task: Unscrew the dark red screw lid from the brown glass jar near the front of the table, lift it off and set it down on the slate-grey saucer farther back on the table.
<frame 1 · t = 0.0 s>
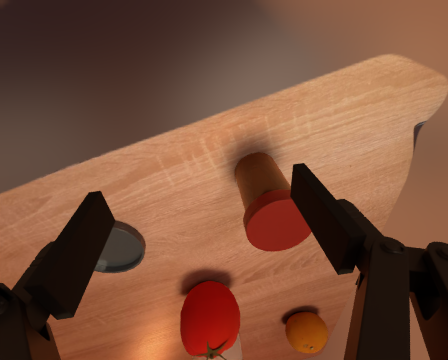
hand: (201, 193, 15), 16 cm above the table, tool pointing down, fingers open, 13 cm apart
jar: (255, 171, 33), on the table
lid: (280, 225, 24), point 12 cm above the table, screwed on, not yet turned
tomato: (207, 285, 48), on the table
saucer: (110, 244, 38), on the table
container: (216, 337, 62), on the table
fruit: (299, 315, 61), on the table
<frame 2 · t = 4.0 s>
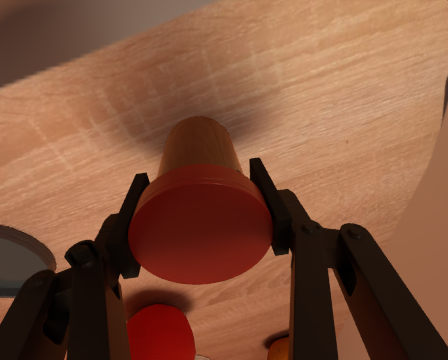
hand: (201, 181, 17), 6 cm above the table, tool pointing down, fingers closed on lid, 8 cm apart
jar: (199, 148, 22), on the table
lid: (203, 237, 12), point 12 cm above the table, screwed on, not yet turned, touching gripper
tomato: (159, 308, 37), on the table
saucer: (0, 258, 26), on the table
fruit: (285, 339, 49), on the table
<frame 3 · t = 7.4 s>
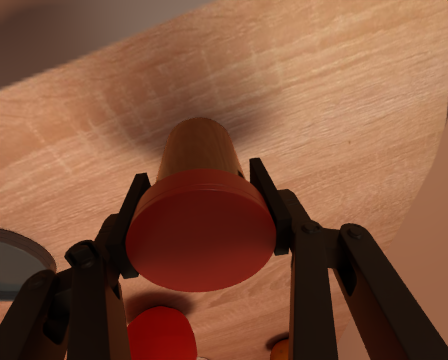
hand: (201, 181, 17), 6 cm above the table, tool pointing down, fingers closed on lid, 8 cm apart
jar: (199, 149, 21), on the table
lid: (203, 244, 11), point 12 cm above the table, turned 95° so far, risen 0.1 cm, still on its thread, touching gripper
tomato: (161, 310, 36), on the table
saucer: (0, 262, 26), on the table
fruit: (288, 340, 49), on the table
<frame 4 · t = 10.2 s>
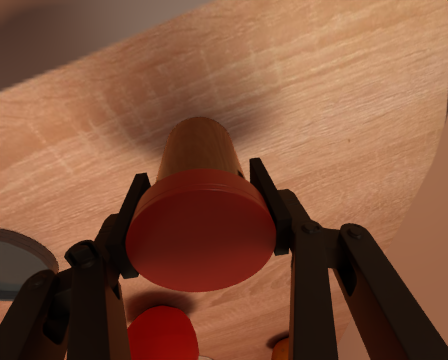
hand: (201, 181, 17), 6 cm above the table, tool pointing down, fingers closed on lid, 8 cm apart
jar: (199, 149, 21), on the table
lid: (203, 243, 11), point 12 cm above the table, turned 190° so far, risen 0.3 cm, still on its thread, touching gripper
tomato: (162, 309, 37), on the table
saucer: (3, 262, 27), on the table
fruit: (289, 339, 49), on the table
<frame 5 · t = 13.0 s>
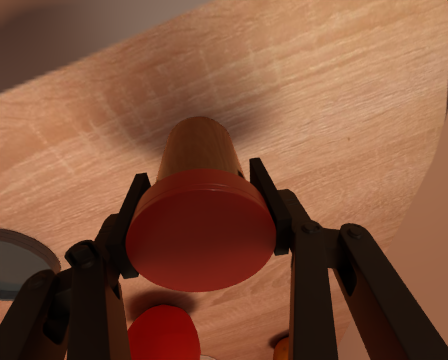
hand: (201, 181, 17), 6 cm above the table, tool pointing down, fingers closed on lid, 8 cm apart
jar: (199, 148, 21), on the table
lid: (203, 243, 11), point 12 cm above the table, turned 285° so far, risen 0.4 cm, still on its thread, touching gripper
tomato: (164, 309, 37), on the table
saucer: (6, 262, 27), on the table
fruit: (291, 338, 49), on the table
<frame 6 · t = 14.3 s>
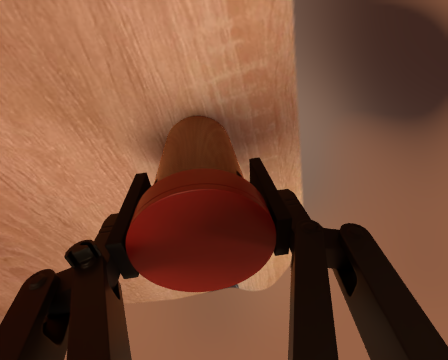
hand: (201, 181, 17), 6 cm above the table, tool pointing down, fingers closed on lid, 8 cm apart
jar: (198, 147, 22), on the table
lid: (203, 243, 11), point 12 cm above the table, off its thread, touching gripper
when the fingers open (2 cm above the table, at t = 22.7 s): lid drops 6 cm, resting on saucer.
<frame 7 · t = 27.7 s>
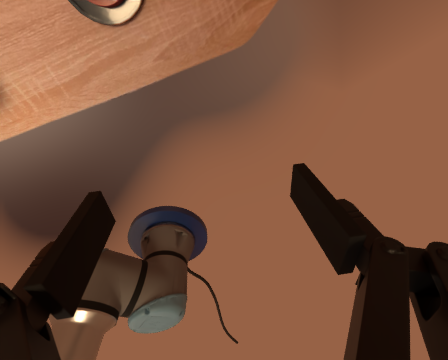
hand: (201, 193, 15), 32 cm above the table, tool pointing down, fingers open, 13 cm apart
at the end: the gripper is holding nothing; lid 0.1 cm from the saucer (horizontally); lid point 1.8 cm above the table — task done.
